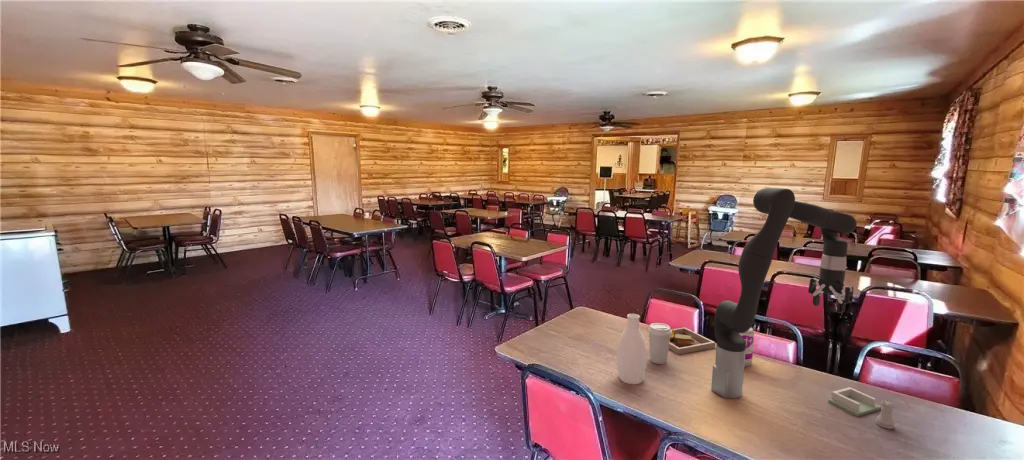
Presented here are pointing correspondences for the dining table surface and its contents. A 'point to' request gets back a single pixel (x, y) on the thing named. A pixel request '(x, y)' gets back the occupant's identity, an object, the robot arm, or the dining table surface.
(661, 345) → the coffee cup
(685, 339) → the toy sandwich meal
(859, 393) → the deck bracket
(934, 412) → the dining table surface
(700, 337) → the tray rim
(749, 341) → the supplement can
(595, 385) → the dining table surface
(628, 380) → the bottle
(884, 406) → the rook chess piece
